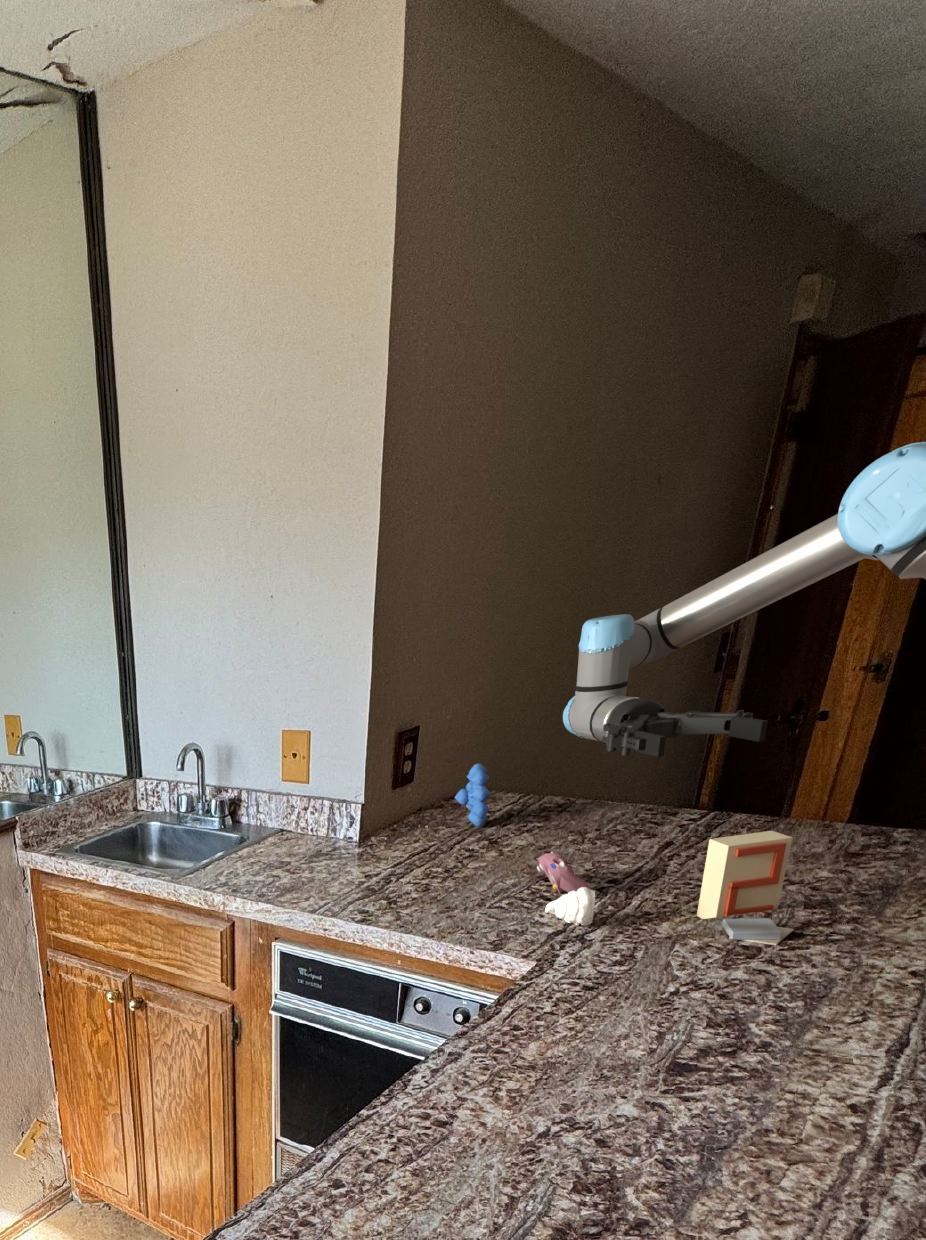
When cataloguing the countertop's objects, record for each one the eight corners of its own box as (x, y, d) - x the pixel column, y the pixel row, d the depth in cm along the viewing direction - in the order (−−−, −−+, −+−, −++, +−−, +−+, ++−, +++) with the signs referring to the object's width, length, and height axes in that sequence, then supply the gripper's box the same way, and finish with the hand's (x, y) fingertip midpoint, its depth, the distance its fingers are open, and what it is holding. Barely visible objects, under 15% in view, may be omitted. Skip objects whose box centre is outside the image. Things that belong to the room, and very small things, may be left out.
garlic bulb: (544, 917, 131) (547, 882, 129) (590, 918, 128) (594, 882, 126) (543, 930, 127) (546, 894, 125) (591, 931, 124) (595, 894, 122)
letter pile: (784, 930, 115) (788, 908, 114) (840, 956, 107) (846, 932, 105) (689, 942, 116) (693, 920, 115) (737, 968, 108) (742, 945, 106)
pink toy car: (546, 889, 146) (528, 854, 144) (574, 875, 144) (557, 839, 142) (563, 908, 137) (544, 871, 135) (593, 893, 135) (575, 856, 133)
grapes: (449, 819, 187) (451, 761, 182) (484, 816, 185) (487, 758, 180) (457, 833, 177) (459, 772, 172) (493, 830, 175) (497, 768, 170)
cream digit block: (756, 908, 123) (771, 830, 118) (778, 918, 119) (795, 838, 114) (696, 916, 123) (709, 838, 119) (716, 926, 119) (731, 847, 115)
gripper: (706, 734, 143) (800, 752, 124) (548, 758, 145) (617, 779, 126) (713, 685, 140) (811, 696, 121) (551, 710, 142) (623, 725, 123)
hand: (712, 739), depth 124 cm, fingers open, 13 cm apart
